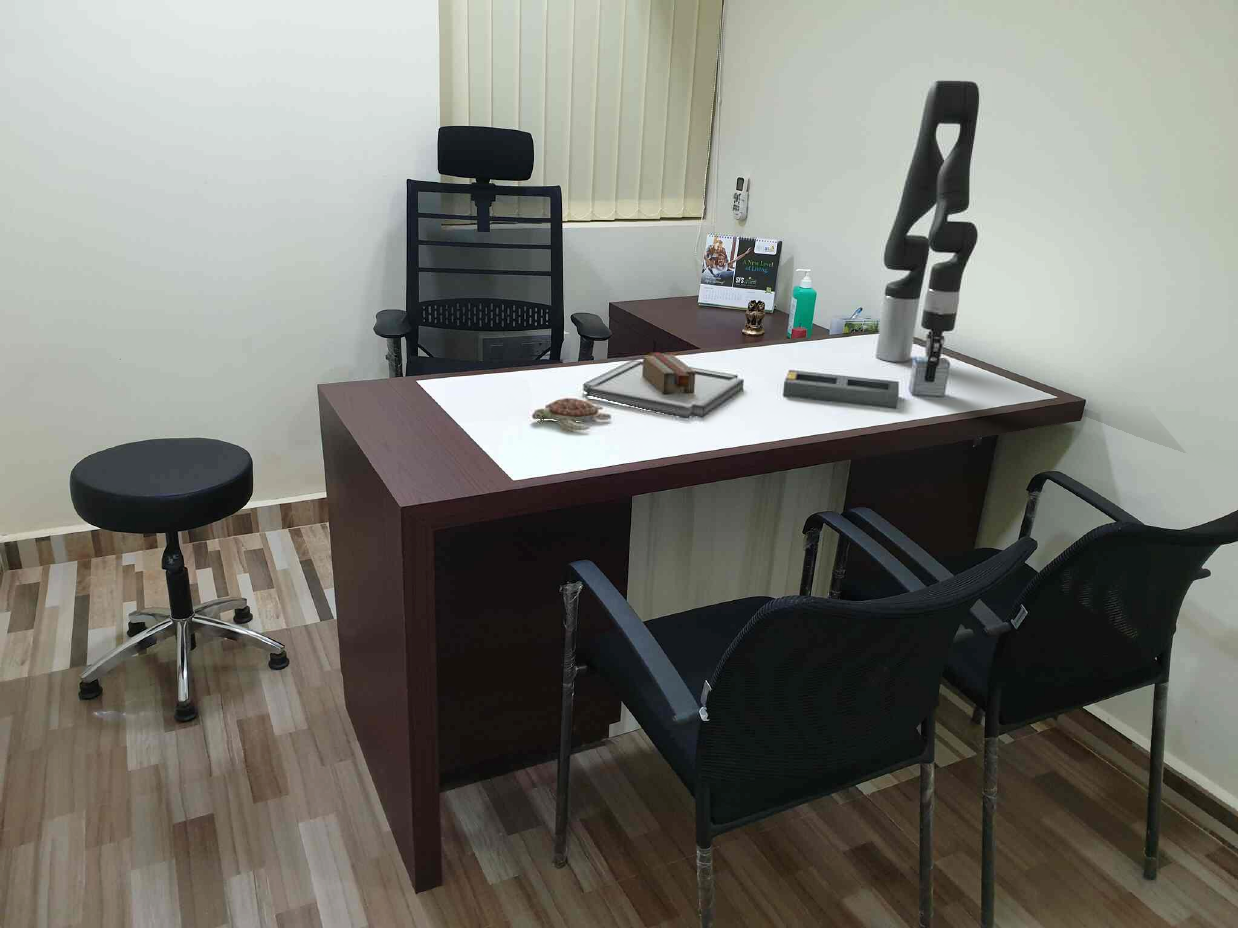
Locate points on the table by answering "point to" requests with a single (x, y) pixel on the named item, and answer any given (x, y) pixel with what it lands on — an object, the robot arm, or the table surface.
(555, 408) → the decorative turtle
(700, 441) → the table surface
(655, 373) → the grey square tray
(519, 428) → the table surface
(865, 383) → the slotted rail
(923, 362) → the medicine box
